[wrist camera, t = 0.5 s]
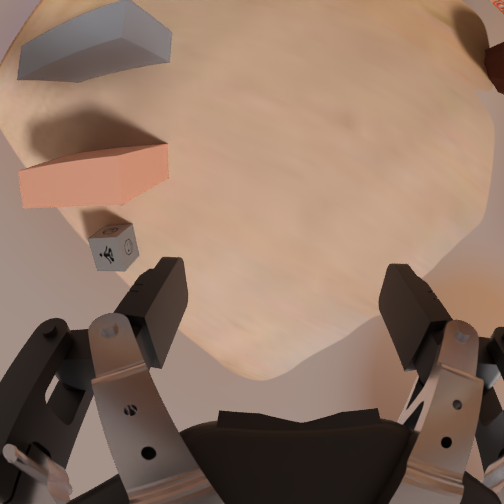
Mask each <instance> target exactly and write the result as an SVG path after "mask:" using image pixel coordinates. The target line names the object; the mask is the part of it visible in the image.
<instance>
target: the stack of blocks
mask: <svg viewBox="0 0 504 504" xmlns="http://www.w3.org/2000/svg"><path fill="white" fill-rule="evenodd" d="M489 1H491V2H492V3H493V4H494V5H495V6H496V7H497V8H498V9H499V10H501V12H503V13H504V0H489Z"/></svg>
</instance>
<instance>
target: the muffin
mask: <svg viewBox="0 0 504 504" xmlns="http://www.w3.org/2000/svg"><path fill="white" fill-rule="evenodd" d="M484 63H485V66H486V68H487V72H488V76H489V79H490V80H491V82H492V83H493V84H494V86H495V88H496V89H497V91H498V92H499V93H502V94H504V42H503V43H500V44H498V45H496V46H494V47H491V48H489V49H487V50H486V54H485V61H484Z"/></svg>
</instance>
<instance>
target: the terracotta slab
mask: <svg viewBox="0 0 504 504" xmlns="http://www.w3.org/2000/svg"><path fill="white" fill-rule="evenodd" d="M18 175H19V183H20V190H21V197H22V203H23V208H42V207H68V206H122V205H124V204H125V203H127V202H128V201H130V200H132V199H133V198H135V197H137V196H138V195H140V194H142V193H143V192H145V191H147V190H148V189H150V188H152V187H154V186H155V185H157V184H159V183H161V182H162V181H164V180H166V179H168V178H169V170H168V144H155V145H141V146H130V147H120V148H111V149H103V150H95V151H88V152H81V153H76V154H72V155H68V156H65V157H61V158H58V159H54V160H51V161H48V162H44V163H41V164H38V165H35V166H32V167H29V168H26V169H24V170H20V171H18Z"/></svg>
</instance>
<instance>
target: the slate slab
mask: <svg viewBox="0 0 504 504" xmlns="http://www.w3.org/2000/svg"><path fill="white" fill-rule="evenodd" d="M171 41H172V32H171V31H170V30H169V29H168V28H166V27H165V26H164V25H163V24H161V23H160V22H159V21H158V20H156V19H155V18H154V17H152V16H151V15H150V14H149V13H147V12H146V11H145V10H143V9H142V8H141V7H139V6H138V5H136V4H135V3H134V2H132V1H131V0H120V1H117V2H114V3H111V4H108V5H106V6H103V7H100V8H97V9H95V10H92V11H90V12H87V13H85V14H83V15H80V16H78V17H76V18H73V19H71V20H69V21H67V22H65V23H63V24H61V25H59V26H57V27H55V28H53V29H51V30H49V31H47V32H45V33H44V34H42V35H40V36H38V37H36V38H35V39H33V40H31V41H30V42H28V43H26V44H25V45H23V46H22V49H21V55H20V61H19V69H18V78H17V80H46V81H64V82H76V83H78V82H81V81H85V80H88V79H91V78H95V77H99V76H102V75H106V74H110V73H114V72H118V71H123V70H127V69H132V68H137V67H142V66H148V65H154V64H161V63H168V62H170V54H171Z"/></svg>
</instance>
